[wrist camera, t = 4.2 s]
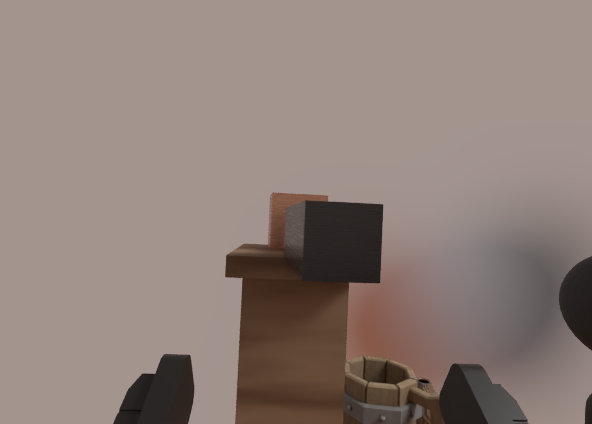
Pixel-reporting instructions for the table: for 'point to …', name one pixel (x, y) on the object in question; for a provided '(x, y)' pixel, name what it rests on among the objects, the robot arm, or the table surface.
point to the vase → (425, 420)
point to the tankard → (385, 393)
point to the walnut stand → (288, 342)
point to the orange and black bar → (327, 237)
